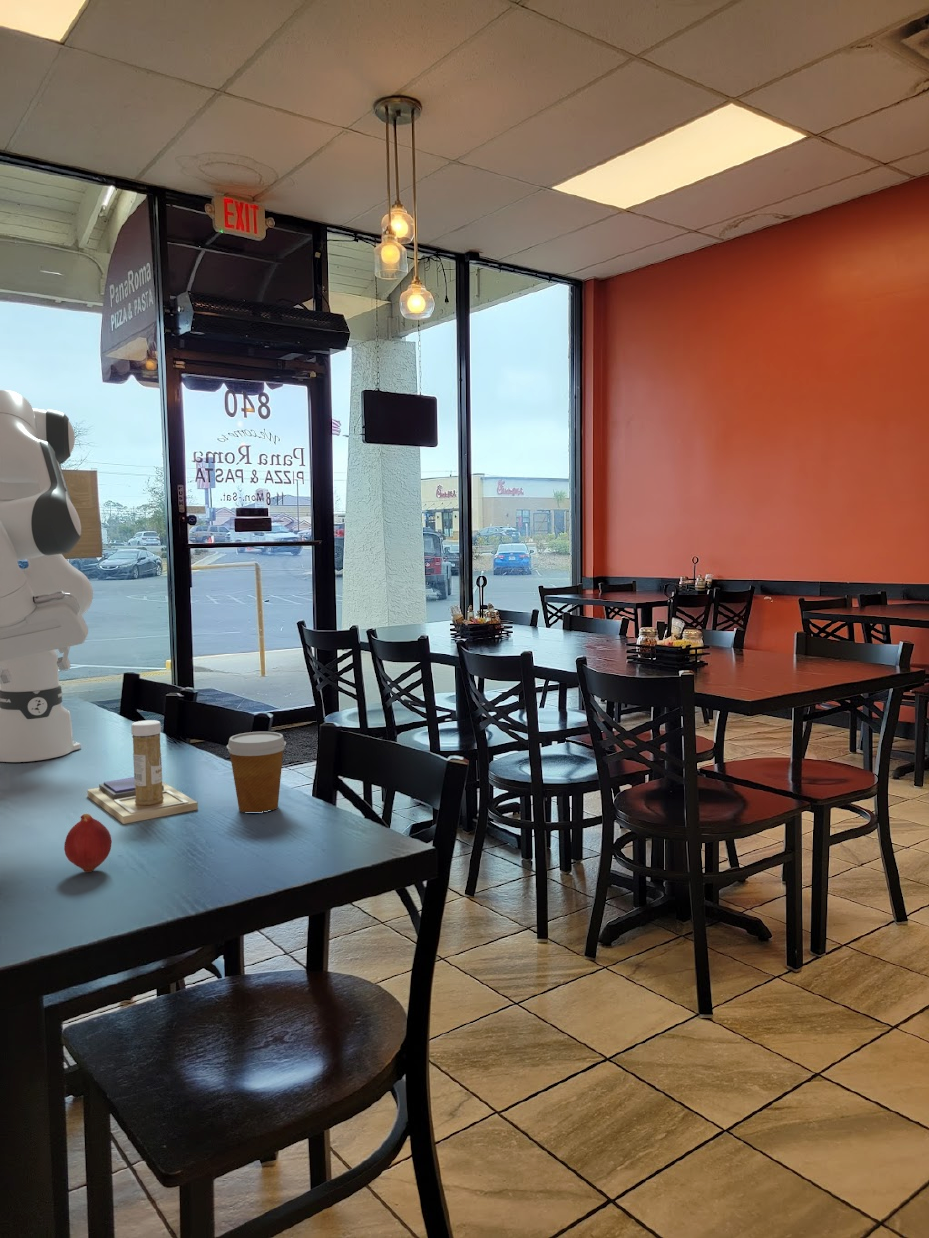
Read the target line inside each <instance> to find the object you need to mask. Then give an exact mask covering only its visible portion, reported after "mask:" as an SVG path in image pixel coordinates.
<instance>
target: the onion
mask: <svg viewBox="0 0 929 1238" xmlns="http://www.w3.org/2000/svg"><path fill="white" fill-rule="evenodd" d="M112 840H113V839H112V835H111V833H110V831H109V830H108V828H107V827H106V826H105V825H104V824H102V822H100V820H97V819H95V818H94V817H92V816H91V815H90V814H89V813H83V814H82V815H81V816H80V821H78V822H77V823H76V824H74V825H73V826H72V827H71V829H70V830H69V831H68V833H67V835H66V837H65V841H64V847H63V850H64V854H65V857H66V858H67V859H68V861H69V862H71V863H72V864H73V865H74V866H76V867H78V868H79V869H81V870H82V871H84V872H86V873H91V872H92V871H94V870H96V869H97V868H98V867H99V866H100V865H101V864H103V863H104V862H105V860H106V859H107V857H108V856H109V854H110V853H111V848H112Z"/></svg>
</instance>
